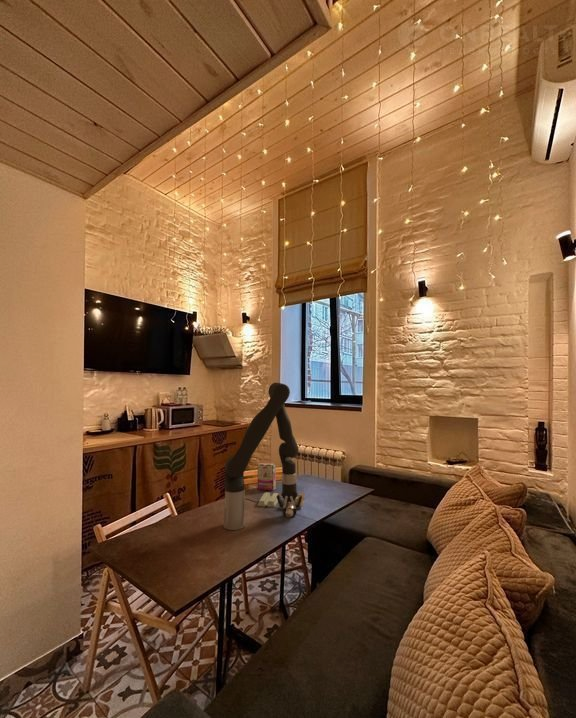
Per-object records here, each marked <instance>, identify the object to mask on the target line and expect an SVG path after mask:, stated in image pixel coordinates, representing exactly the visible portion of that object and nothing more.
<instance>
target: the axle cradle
mask: <svg viewBox="0 0 576 718" xmlns="http://www.w3.org/2000/svg"><path fill="white" fill-rule="evenodd" d="M278 494H280V493H278V492H274V493H273V494H271V492H264V493H263V495H262V496H261V497H260V498H259V501H258V503H257V507H265V506H268V507H267V508H269V507H270V508H276V506H277V505H278V504H279V503H278V500H277V495H278Z"/></svg>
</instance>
